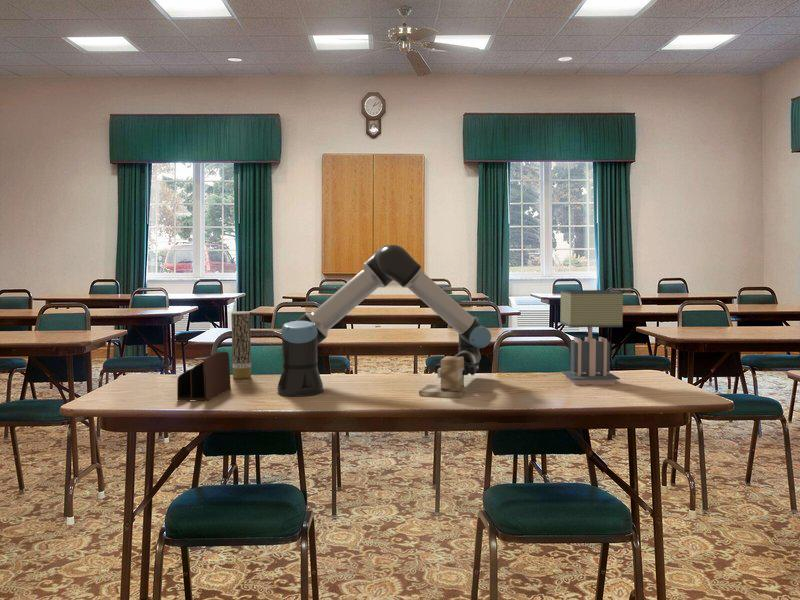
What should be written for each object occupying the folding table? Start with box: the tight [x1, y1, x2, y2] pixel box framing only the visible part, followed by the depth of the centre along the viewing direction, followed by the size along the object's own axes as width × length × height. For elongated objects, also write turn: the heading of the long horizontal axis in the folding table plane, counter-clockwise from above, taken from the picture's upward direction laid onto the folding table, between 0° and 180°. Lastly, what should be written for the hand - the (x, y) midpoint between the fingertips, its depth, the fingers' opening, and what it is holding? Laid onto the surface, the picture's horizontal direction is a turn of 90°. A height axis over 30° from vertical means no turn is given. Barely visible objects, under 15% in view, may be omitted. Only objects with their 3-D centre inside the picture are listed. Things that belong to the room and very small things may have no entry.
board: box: [418, 384, 469, 399], centre depth 206 cm, size 14×11×2 cm
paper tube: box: [230, 310, 252, 380], centre depth 235 cm, size 7×7×25 cm
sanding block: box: [440, 355, 465, 391], centre depth 205 cm, size 6×8×10 cm
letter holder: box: [176, 351, 232, 402], centre depth 206 cm, size 10×20×14 cm, turn 173°
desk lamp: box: [559, 289, 624, 386], centre depth 224 cm, size 18×14×33 cm
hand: (448, 374), depth 200 cm, fingers closed on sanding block, 6 cm apart
